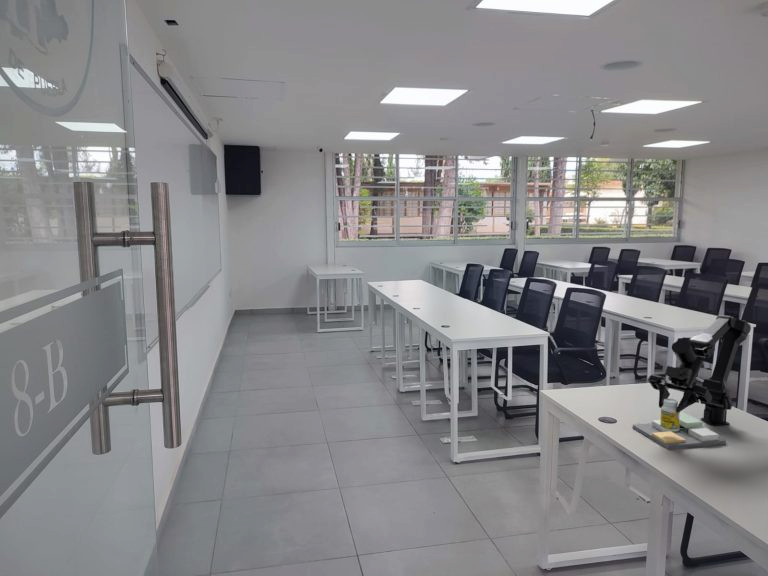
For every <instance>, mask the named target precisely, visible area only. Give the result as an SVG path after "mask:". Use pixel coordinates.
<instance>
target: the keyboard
mask: <svg viewBox="0 0 768 576" xmlns="http://www.w3.org/2000/svg"><path fill="white" fill-rule="evenodd" d="M660 422H661V419H655V420H653V419H652V420H651V422H650V423H649V422H648V423H635V424H632V429H634V430H635V431H637V432H639V433H640V434H641V435H644V436H645V437H647V438H648V439H650V440H652V441H653V442H655V443H657V444H659V446H662V447H663V448H665V449H666V450H674V449H677V450H678V449H688V448H698V447H707V446H718V445H726V444H727V440H726V439H724V438H722V437H720V435H719V434H718V433H716V432H714V431H713V430H711V429H709V428H707V427H696V428H685V427H682V426H681V425H679V429H678V431H667V430H664V429H662V428H661V427H660Z"/></svg>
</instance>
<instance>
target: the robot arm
mask: <svg viewBox="0 0 768 576" xmlns="http://www.w3.org/2000/svg"><path fill="white" fill-rule="evenodd" d="M751 327H752V326H751V324H750V323H749V322H748V321H747V320H742V319H739V318H736V317H734V316H733V315H732V316H731V315H726V314H720V315H717V317H716V319H715V320H714V321H713V322H712V323H711V324H710V326H708V327H707V329H705V330H704V331H703V332H702V333H699V334H698V335H694V336H691V338H690V337H685V336H684V337H682V339H678V340H676V341H675V342H673V343H672V345H671V350H672V353H673V354H674V355H675V356H676V359H677V360H678V361H679V362H680V364H679V366H676V367H674V366H670V365H667V366H666V369H665V371H664V376H667V377H668V380H669V381H667V380H666V379H665V378H664V377H663V376H661V375H657V374H650V375H649V376H648V379H647V381H648V383H649V384H650V386H651V387H652V389H654V390H657V391H658V392H659V397H658V408H660V409H661V407H662V406H663V405H665V404H664V399H669V398H670V395H671V393H670V392H669V390H670V389H671V390H674V391H677V392H678V391H679V392H683V395H682V398H681V400H680V401H679V402H678V405H677V409H676V412H677V413H679V412H680V411H681V412H683V410H685V409H686V408H688V407H689V406H692V405H693V404H696V403H697V404H699V403H700V405H701V404H702V405H704V410H703V417H701V418H700V421H702V422H705V423H707V424H709V425H712V426H714V427H715V426H726V425H730V422H728V421H727V415H728V414H727V413H728V410H730V411H731V410H732V407H733V404H734V401H733V400H732V398H731V396H730V389H729V385H728V379H729V377H730V376H729V375H730V373H731V369H732V366H733V364H734V360H735V357H736V354H737V350H738V347H739V345H741V344H742V343H743V342H744V341H746V340H747V337H748V335H750V333H751V330H752V329H751ZM721 338H722V339H723V340H722V343H721V346H720V349H719V351H718V355H717V358H716V362H715V365H714V368H713V369H712V373H711V376H709V378H705V379H703V381H702V385H698V384H694V383H697V381H698V379H697V376H698V374H699V372H700V370H701V369H705V365H704V362H703V359H702V358H707V359H708V358H710V357H711V356H712V355H713V354H714V352H715V350H716V349H715V348H716V347H715V344H717V342H718V341H719V340H720V339H721Z"/></svg>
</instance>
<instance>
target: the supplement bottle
mask: <svg viewBox="0 0 768 576" xmlns="http://www.w3.org/2000/svg"><path fill="white" fill-rule="evenodd" d="M678 405H679V401H678V400H677V399H674V398H668V399H664V405H663V406H662V407H661V408H660V420H661V422H660V427H661V428H662V429H664V430H667V431H678V429H679V415H680V412H679V413H677V412H676V409H677V407H678Z"/></svg>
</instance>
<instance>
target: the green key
mask: <svg viewBox="0 0 768 576" xmlns="http://www.w3.org/2000/svg"><path fill="white" fill-rule="evenodd" d="M703 422H704V421H703V420H701V419H700V420H699V419H697V418H695V417H694V416H691V415H690V414H687V413H685V412H683V411H680V415H679V425H681V426H680V427H682V428H696V427H700V428H703Z"/></svg>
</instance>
